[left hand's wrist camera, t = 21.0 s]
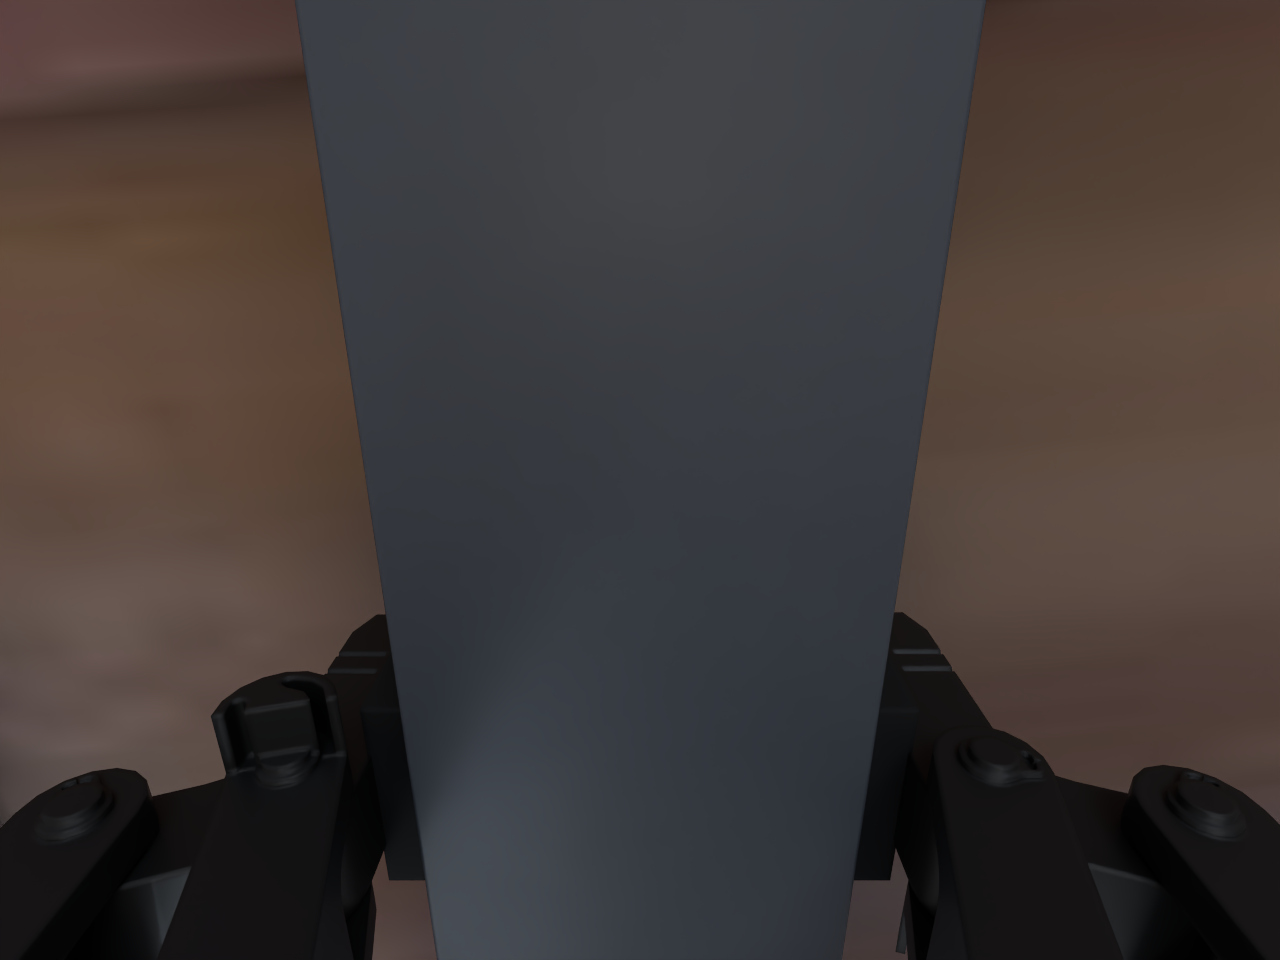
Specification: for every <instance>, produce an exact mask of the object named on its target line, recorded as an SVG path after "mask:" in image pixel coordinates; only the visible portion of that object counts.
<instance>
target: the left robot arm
mask: <svg viewBox="0 0 1280 960" xmlns="http://www.w3.org/2000/svg"><path fill="white" fill-rule="evenodd" d="M211 718H212V722H213V726H214V730H215V733H216V737H217V741H218V745H219V748H220V752H221V756H222V759H223V763H224V767H225V771H226V776H225V779H221V780H218V781H215V782H211V783H208V784H205V785H200V786H196V787H192V788H187V789H183V790H179V791H174V792H170V793H166V794H161V795H157V796H153V797H152V795H151V792H150V789H149V786H148V783H147V780H146V779H145V778H144V777H142V776H141V775H140V774H139V773H138V772H136V771H133V770H126V769H120V768H114V769H107V770H99V771H92V772H89V773H86V774H83V775H80V776H78V777H74V778H72V779H69V780H66V781H64V782H62V783H60V784H58V785H56V786H54V787H52V788H51V789H49V790H47V791H45V792H43V793H41V794H40V795H38V796H36V797H35V798H34V799H33V800H31V801H30V802H29V803H28V804H26V805H25V806H24V807H23V808H21V809H20V810H19V811H18V812H16V813H15V814H14V815H13V816H12V817H11V818H10V819H9V820H8V821H7V822H6V823H5V824H4V825H3V826H2V827H1V828H0V960H372V954H373V942H374V931H375V920H376V903H375V897H374V891H373V885H372V879H373V876H374V874H375V871H376V869H377V866H378V864H379V861H380V859H381V856H382V854H383V851H384V853H385V859H386V864H387V870H388V876H389V880H425V875H424V868H423V861H422V855H421V848H420V841H419V834H418V828H417V821H416V814H415V807H414V801H413V794H412V787H411V780H410V774H409V767H408V760H407V753H406V747H405V740H404V733H403V726H402V720H401V713H400V706H399V699H398V693H397V686H396V679H395V673H394V666H393V659H392V652H391V646H390V639H389V632H388V625H387V619H386V615H376V616H374V617H373V618H372V619H370V620H369V621H368V622H366V623H365V624H363V625H362V626H361V627H359V628H358V629H357V630H355V631H354V632H353V633H352V634H351V636H350V637H349V639H348V640H347V642H346V643H345V645H344V646H343V648H342V649H341V651H340V652H339V657H336V658H335V660H334V661H333V663H332V664H331V666H330V667H329V669H328V674H325V675H321V674H317V673H313V672H309V671H302V672H284V673H280V674H276V675H272V676H268V677H264V678H261V679H259V680H257V681H254V682H252V683H250V684H248V685H245V686H243V687H241V688H239V689H238V690H237V691H235V692H234V693H233V694H231V695H230V696H228V697H227V698H226V699H224V700H223V701H222V702H221V703H220V705H219V706H218V707H217V709H216V710H215V711H214V713H213V714H212V715H211ZM895 848H896V850H897V852H898V855H899V857H900V860H901V862H902V865H903V867H904V870H905V872H906V875H907V877H908V885H907V891H906V896H905V902H904V907H903V912H902V918H901V923H900V928H899V934H898V940H897V946H896V952H899V953H903V954H905V951H906V946H907V952H908V960H1280V824H1278V823H1277V822H1276V821H1275V820H1274V819H1273V818H1272V817H1271V816H1270V815H1269V814H1268V813H1267V812H1266V811H1265V810H1264V809H1263V808H1262V807H1260V806H1259V805H1258V804H1257V803H1255V802H1254V801H1253V800H1252V799H1250V798H1249V797H1248V796H1247V795H1245V794H1244V793H1243V792H1241V791H1239V790H1237V789H1235V788H1234V787H1232V786H1230V785H1228V784H1226V783H1224V782H1222V781H1221V780H1219V779H1217V778H1215V777H1212V776H1209V775H1206V774H1203V773H1200V772H1197V771H1194V770H1191V769H1188V768H1182V767H1174V766H1167V765H1160V766H1153V767H1147V768H1144V769H1142V770H1141V771H1140V772H1139V773H1138V774H1136V775H1135V776H1134V777H1133V780H1132V783H1131V786H1130V789H1129V792H1128V794H1127V793H1123V792H1118V791H1114V790H1110V789H1105V788H1101V787H1096V786H1092V785H1088V784H1083V783H1079V782H1075V781H1071V780H1068V779H1065V778H1061V777H1058V776H1055V775H1054V772H1053V771H1052V769H1051V768H1050V766H1049V765H1048V763H1047V762H1046V760H1045V759H1044V757H1043V756H1042V755H1040V754H1039V753H1038V752H1037V751H1036V750H1034V749H1033V748H1032V747H1031V746H1030V745H1028V744H1027V743H1026V742H1024V741H1022V740H1020V739H1018V738H1016V737H1014V736H1012V735H1010V734H1008V733H1006V732H1004V731H1000V730H996V729H993V728H992V726H991V725H990V723H989V722H988V720H987V719H986V718H985V716H984V715H983V713H982V712H981V710H980V709H979V707H978V706H977V704H976V703H975V701H974V700H973V698H972V697H971V695H970V694H969V692H968V691H967V689H966V688H965V686H964V685H963V683H962V682H961V680H960V679H959V677H958V676H957V674H956V673H955V671H952V667H951V665H950V664H949V662H948V661H947V659H946V658H945V656H944V655H943V654H941V653H940V649H939V647H938V646H937V644H936V643H935V641H934V640H933V638H932V637H931V635H930V634H929V632H928V631H927V630H926V629H925V628H923V627H922V626H921V625H919V624H918V623H917V622H915V621H914V620H912V619H911V618H910V617H908V616H907V615H905V614H904V613H903V612H894V615H893V622H892V629H891V635H890V642H889V648H888V655H887V662H886V668H885V675H884V682H883V688H882V695H881V702H880V708H879V715H878V722H877V728H876V735H875V741H874V748H873V755H872V761H871V768H870V775H869V781H868V788H867V795H866V801H865V808H864V814H863V821H862V828H861V834H860V841H859V848H858V854H857V861H856V868H855V874H854V880H890V877H891V871H892V866H893V860H894V854H895Z"/></svg>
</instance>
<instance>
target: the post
mask: <svg viewBox="0 0 1280 960" xmlns="http://www.w3.org/2000/svg"><path fill="white" fill-rule="evenodd" d="M985 4H986V0H295V5H296V12H297V18H298V25H299V32H300V39H301V45H302V52H303V59H304V66H305V72H306V79H307V86H308V93H309V99H310V106H311V113H312V120H313V126H314V133H315V140H316V147H317V153H318V160H319V167H320V173H321V180H322V187H323V194H324V200H325V207H326V214H327V221H328V227H329V234H330V241H331V248H332V254H333V261H334V268H335V275H336V281H337V288H338V295H339V302H340V308H341V315H342V322H343V329H344V335H345V342H346V349H347V356H348V362H349V369H350V376H351V383H352V389H353V396H354V403H355V410H356V416H357V423H358V430H359V436H360V443H361V450H362V457H363V463H364V470H365V477H366V484H367V490H368V497H369V504H370V511H371V517H372V524H373V531H374V538H375V544H376V551H377V558H378V565H379V571H380V578H381V585H382V592H383V598H384V605H385V612H386V619H387V625H388V632H389V639H390V646H391V652H392V659H393V666H394V673H395V679H396V686H397V693H398V699H399V706H400V713H401V720H402V726H403V733H404V740H405V747H406V753H407V760H408V767H409V774H410V780H411V787H412V794H413V801H414V807H415V814H416V821H417V828H418V834H419V841H420V848H421V855H422V861H423V868H424V875H425V882H426V888H427V895H428V902H429V909H430V915H431V922H432V929H433V936H434V942H435V949H436V956H437V960H842V954H843V947H844V941H845V934H846V927H847V921H848V914H849V907H850V901H851V894H852V888H853V881H854V874H855V868H856V861H857V854H858V848H859V841H860V834H861V828H862V821H863V814H864V808H865V801H866V795H867V788H868V781H869V775H870V768H871V761H872V755H873V748H874V741H875V735H876V728H877V722H878V715H879V708H880V702H881V695H882V688H883V682H884V675H885V668H886V662H887V655H888V648H889V642H890V635H891V629H892V622H893V615H894V609H895V602H896V595H897V589H898V582H899V575H900V569H901V562H902V556H903V549H904V542H905V536H906V529H907V522H908V516H909V509H910V502H911V496H912V489H913V482H914V476H915V469H916V463H917V456H918V449H919V443H920V436H921V429H922V423H923V416H924V409H925V403H926V396H927V389H928V383H929V376H930V370H931V363H932V356H933V350H934V343H935V336H936V330H937V323H938V316H939V310H940V303H941V297H942V290H943V283H944V277H945V270H946V263H947V257H948V250H949V243H950V237H951V230H952V223H953V217H954V210H955V204H956V197H957V190H958V184H959V177H960V170H961V164H962V157H963V150H964V144H965V137H966V131H967V124H968V117H969V111H970V104H971V97H972V91H973V84H974V77H975V71H976V64H977V57H978V51H979V44H980V38H981V31H982V24H983V18H984V11H985Z"/></svg>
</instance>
